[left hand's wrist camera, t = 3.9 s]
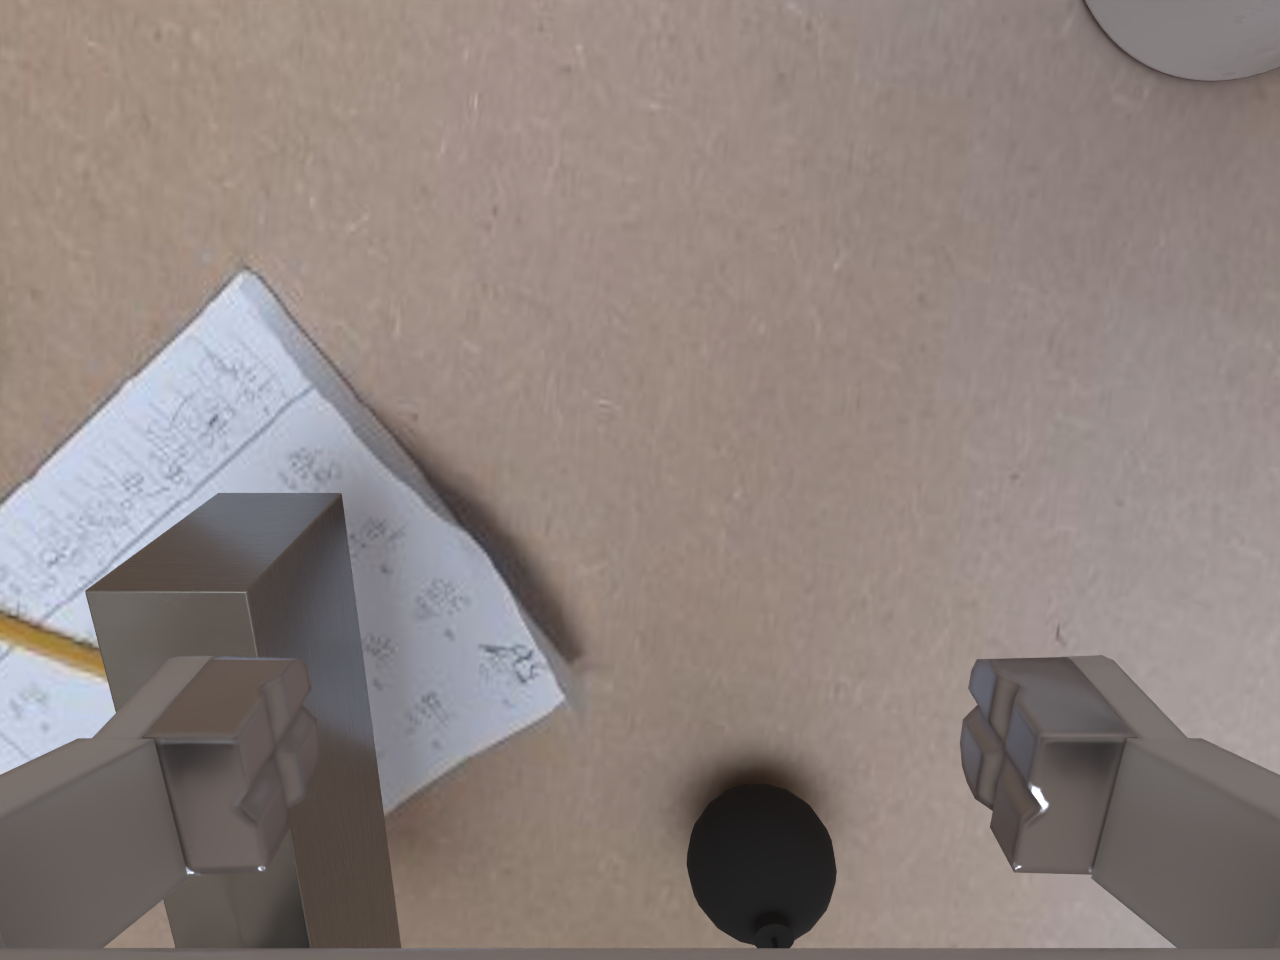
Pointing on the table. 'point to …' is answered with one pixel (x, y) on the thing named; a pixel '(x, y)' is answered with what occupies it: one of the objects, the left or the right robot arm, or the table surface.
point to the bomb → (761, 865)
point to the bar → (331, 648)
